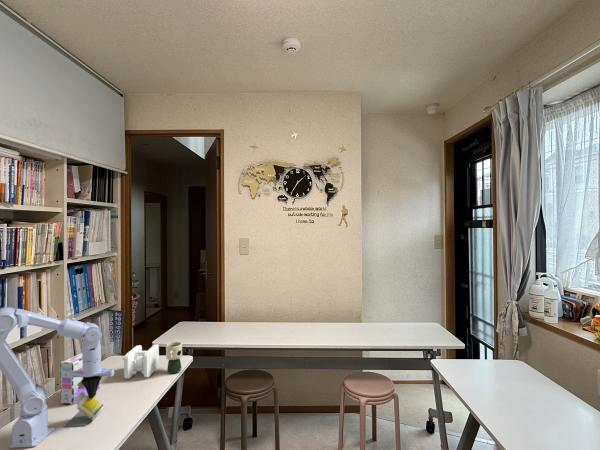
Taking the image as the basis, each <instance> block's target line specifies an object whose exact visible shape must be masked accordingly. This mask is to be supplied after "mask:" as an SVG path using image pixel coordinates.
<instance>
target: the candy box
mask: <svg viewBox="0 0 600 450" xmlns="http://www.w3.org/2000/svg"><path fill="white" fill-rule="evenodd" d="M59 367H60V404H63V405H64V404H65V405H71V406H72V405H75V404H74V403H73V401H74V400H75V398H76V397H77V396H78V395H79V394H80V393H81V392H83V393H85V395H88V393H87V390H86V388H85V387H84V385H83V384H82V383H81V380H83V377H73V378H70V377H69V373H70V372H72V371H76V370H83V363H82V352H80V353H79V354H76V355H74V356H72V357H69V358H68V359H65V360H64V361H63V360H62V361H61V362H60V364H59ZM99 389H100V384H99V385H98V388H97V390H99Z"/></svg>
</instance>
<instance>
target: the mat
mask: <svg viewBox="0 0 600 450" xmlns="http://www.w3.org/2000/svg"><path fill="white" fill-rule="evenodd" d="M91 421H92V420H91V419H90V418H89V417H87V416H86V415H85V414H83V413H82V412H81V411H79V410H78V412H77V413H76V414H75V415H74V416H73V417H72V418H71V419H70V420H68V421H67V423H65V424H64V428H75V427H87V425H88V424H89V423H90V422H91Z"/></svg>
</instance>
